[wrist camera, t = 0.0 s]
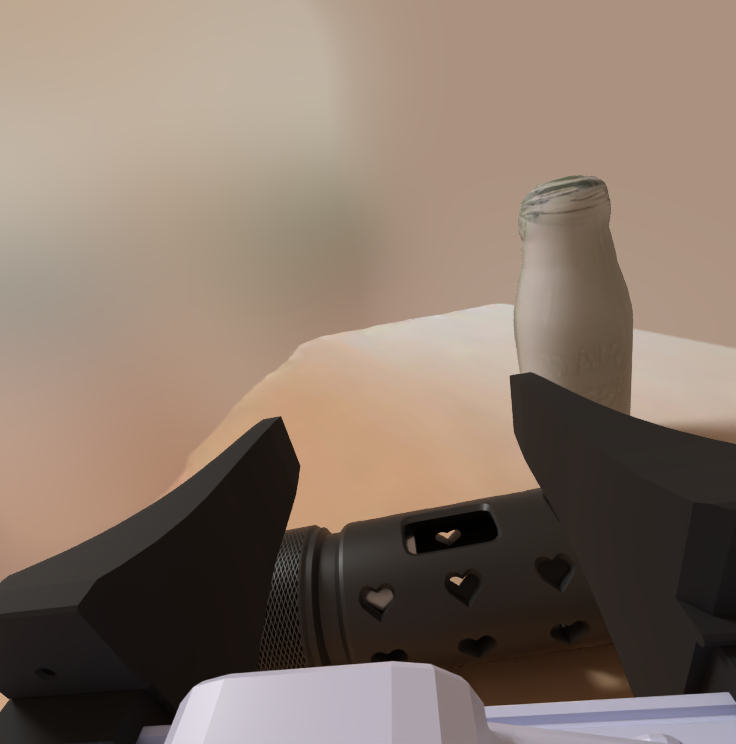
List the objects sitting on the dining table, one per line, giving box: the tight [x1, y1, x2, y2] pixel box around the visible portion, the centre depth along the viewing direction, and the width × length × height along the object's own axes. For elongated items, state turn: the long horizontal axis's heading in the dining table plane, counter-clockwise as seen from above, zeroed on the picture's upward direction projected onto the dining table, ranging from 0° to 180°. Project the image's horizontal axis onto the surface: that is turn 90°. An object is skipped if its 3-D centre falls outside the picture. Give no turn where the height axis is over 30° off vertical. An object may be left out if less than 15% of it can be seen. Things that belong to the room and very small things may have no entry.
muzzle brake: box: [257, 488, 613, 672], centre depth 25 cm, size 10×28×10 cm, turn 90°
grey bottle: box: [514, 176, 633, 416], centre depth 37 cm, size 10×10×28 cm
